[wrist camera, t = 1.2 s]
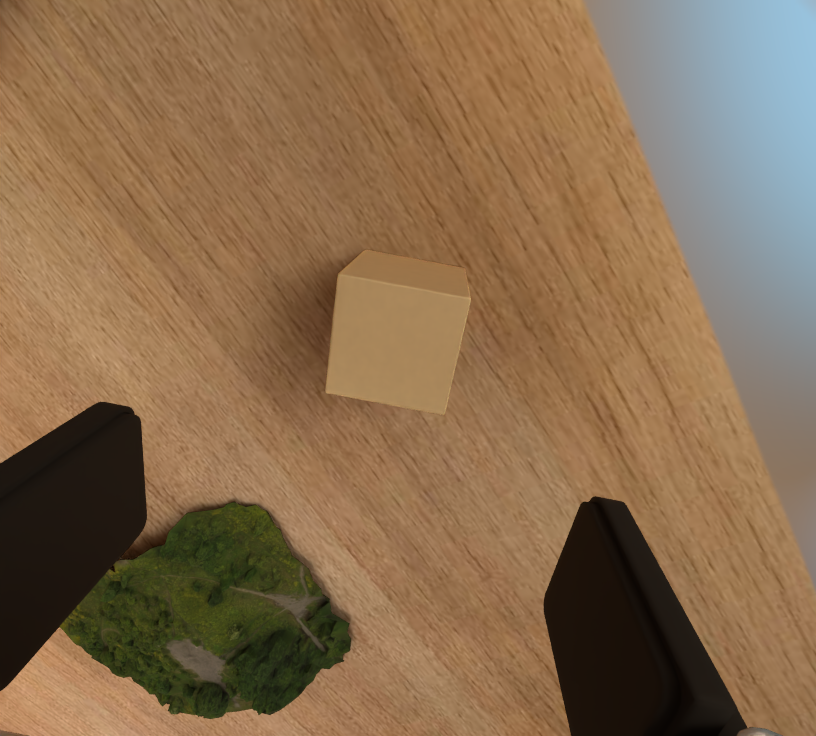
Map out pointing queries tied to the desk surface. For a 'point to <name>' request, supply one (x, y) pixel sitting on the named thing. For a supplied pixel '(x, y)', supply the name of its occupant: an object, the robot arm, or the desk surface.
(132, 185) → the desk surface
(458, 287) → the block
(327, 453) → the desk surface
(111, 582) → the landscape model
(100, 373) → the desk surface
